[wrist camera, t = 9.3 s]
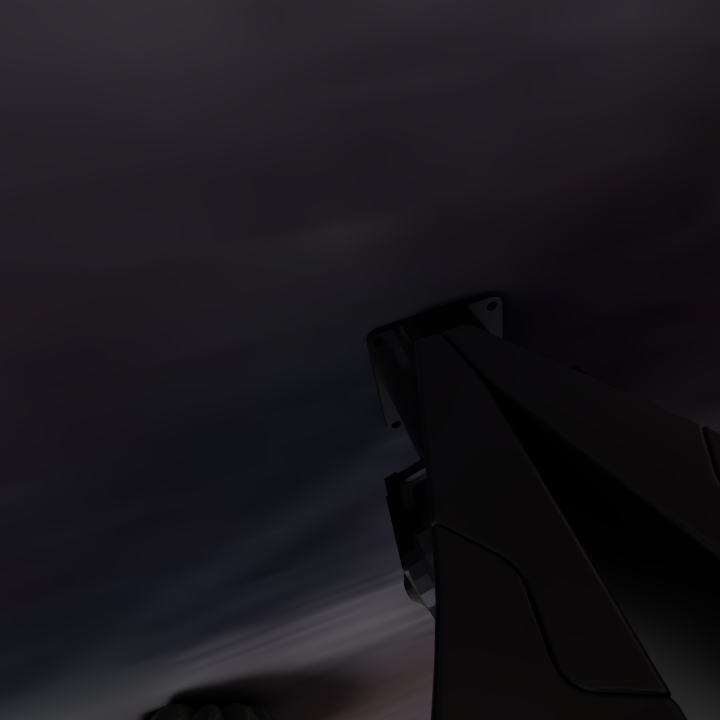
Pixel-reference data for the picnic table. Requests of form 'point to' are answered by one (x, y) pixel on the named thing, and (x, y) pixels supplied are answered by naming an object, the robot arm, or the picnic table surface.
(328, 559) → the picnic table surface
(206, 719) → the squash
